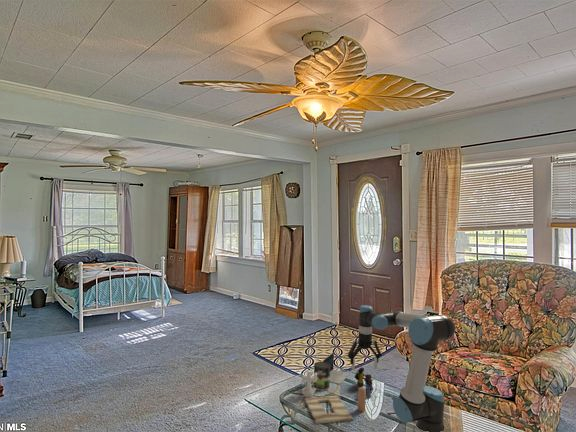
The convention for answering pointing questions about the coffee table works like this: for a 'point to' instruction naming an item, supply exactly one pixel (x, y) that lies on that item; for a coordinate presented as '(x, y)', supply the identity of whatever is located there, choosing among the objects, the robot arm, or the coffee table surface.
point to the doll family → (368, 381)
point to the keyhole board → (322, 417)
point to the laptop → (335, 371)
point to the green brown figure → (322, 376)
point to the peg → (361, 399)
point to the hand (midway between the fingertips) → (364, 368)
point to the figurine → (309, 384)
